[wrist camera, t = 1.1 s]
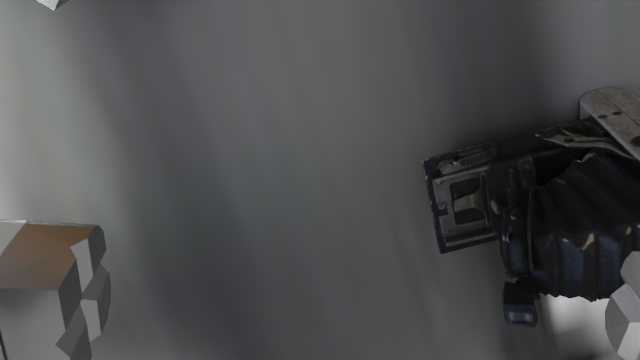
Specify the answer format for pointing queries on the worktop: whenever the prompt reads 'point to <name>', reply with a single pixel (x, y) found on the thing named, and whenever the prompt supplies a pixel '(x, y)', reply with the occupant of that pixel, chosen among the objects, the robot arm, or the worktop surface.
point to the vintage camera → (548, 203)
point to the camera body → (53, 3)
